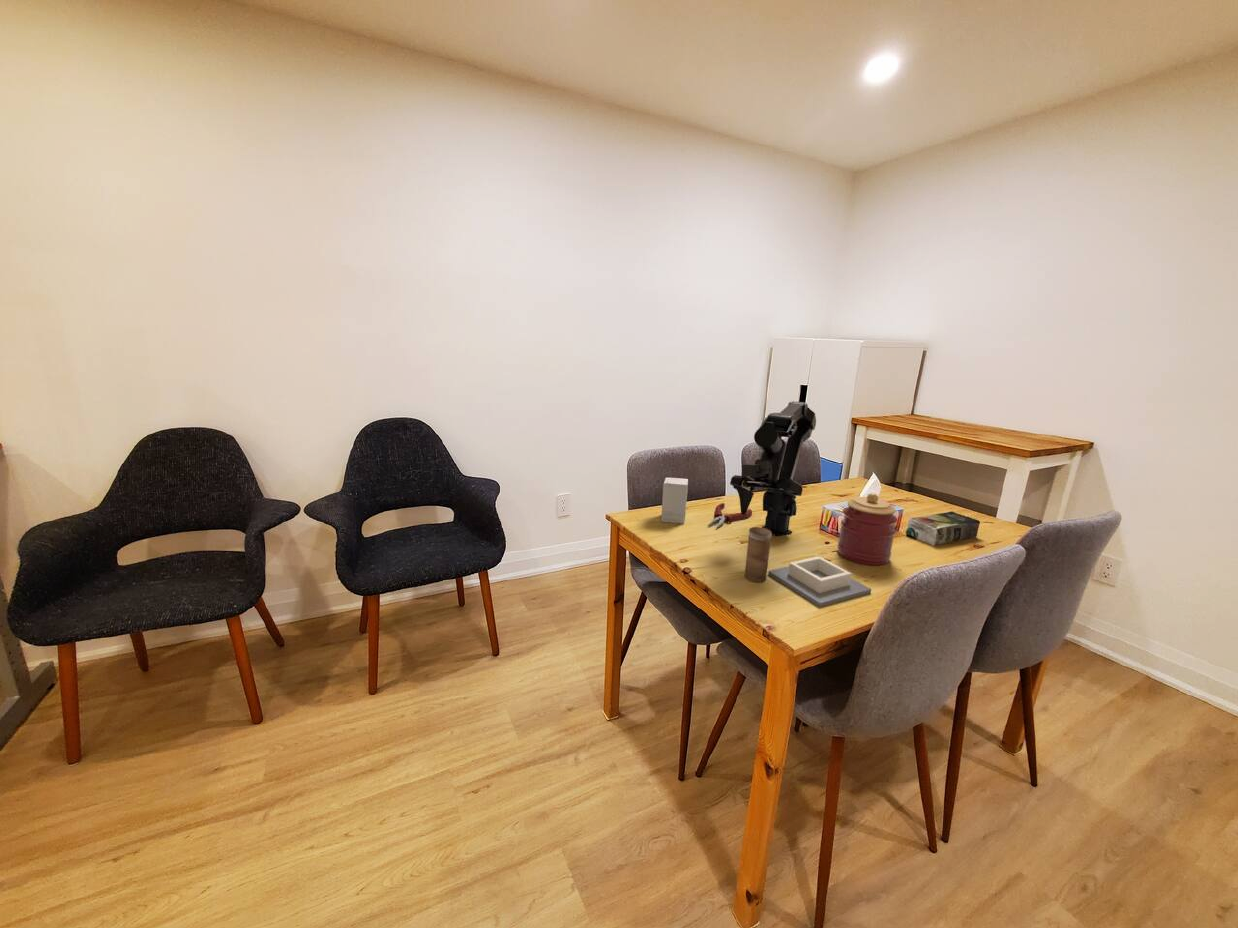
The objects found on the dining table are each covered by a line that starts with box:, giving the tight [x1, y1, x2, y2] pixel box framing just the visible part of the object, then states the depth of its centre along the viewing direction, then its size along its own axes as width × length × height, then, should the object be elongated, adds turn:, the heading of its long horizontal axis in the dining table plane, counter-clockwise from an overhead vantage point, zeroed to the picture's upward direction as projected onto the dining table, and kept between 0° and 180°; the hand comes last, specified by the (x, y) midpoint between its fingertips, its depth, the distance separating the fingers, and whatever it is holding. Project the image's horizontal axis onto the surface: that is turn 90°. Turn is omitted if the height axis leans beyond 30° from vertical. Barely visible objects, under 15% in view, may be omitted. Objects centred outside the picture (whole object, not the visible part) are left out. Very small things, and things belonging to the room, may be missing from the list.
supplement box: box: [660, 477, 689, 525], centre depth 152 cm, size 7×7×13 cm
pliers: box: [707, 502, 753, 528], centre depth 154 cm, size 12×20×3 cm, turn 146°
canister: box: [837, 492, 899, 566], centre depth 129 cm, size 13×13×18 cm
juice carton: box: [905, 510, 981, 546], centre depth 145 cm, size 20×10×6 cm, turn 112°
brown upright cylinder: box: [744, 526, 773, 583], centre depth 115 cm, size 5×5×12 cm
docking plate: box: [767, 556, 872, 608], centre depth 114 cm, size 16×16×4 cm
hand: (757, 516), depth 124 cm, fingers open, 9 cm apart
